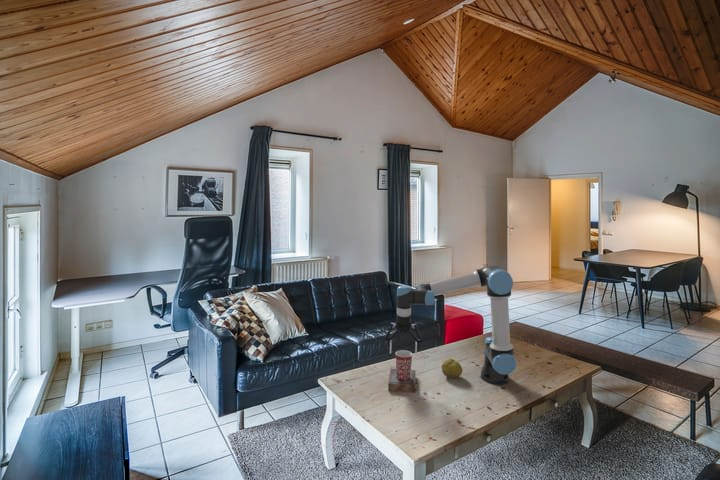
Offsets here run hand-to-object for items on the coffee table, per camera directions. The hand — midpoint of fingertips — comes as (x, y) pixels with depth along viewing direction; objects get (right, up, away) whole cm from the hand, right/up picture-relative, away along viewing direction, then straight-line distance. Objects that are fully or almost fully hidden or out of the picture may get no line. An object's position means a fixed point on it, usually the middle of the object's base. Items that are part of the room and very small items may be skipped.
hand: (403, 353), depth 207 cm
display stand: (0, -17, +2) cm, 17 cm away
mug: (0, -13, +1) cm, 13 cm away
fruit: (+28, -17, +10) cm, 34 cm away
